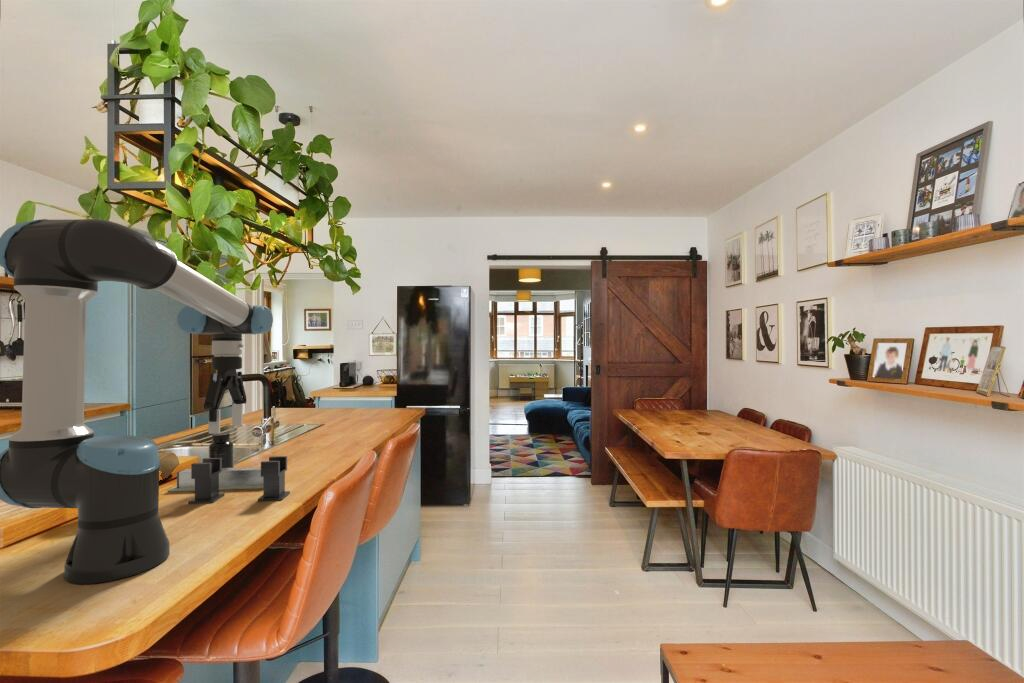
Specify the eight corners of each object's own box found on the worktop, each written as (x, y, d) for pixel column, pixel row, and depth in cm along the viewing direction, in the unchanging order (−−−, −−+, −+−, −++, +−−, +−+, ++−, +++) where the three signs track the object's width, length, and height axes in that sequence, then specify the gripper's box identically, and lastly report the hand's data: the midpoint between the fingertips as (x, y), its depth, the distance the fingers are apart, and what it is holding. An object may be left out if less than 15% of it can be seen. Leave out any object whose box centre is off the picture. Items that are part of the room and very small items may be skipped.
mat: (272, 488, 137) (272, 486, 137) (167, 491, 134) (167, 490, 134) (282, 481, 144) (282, 479, 144) (182, 484, 141) (182, 482, 141)
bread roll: (185, 471, 155) (185, 447, 155) (168, 484, 141) (168, 457, 141) (150, 474, 152) (150, 449, 152) (129, 487, 138) (129, 459, 138)
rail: (270, 485, 138) (270, 469, 138) (176, 488, 135) (176, 472, 135) (274, 481, 142) (274, 466, 142) (183, 484, 139) (183, 469, 139)
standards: (281, 500, 126) (281, 461, 126) (188, 503, 123) (188, 464, 123) (290, 493, 132) (290, 456, 132) (201, 496, 130) (201, 458, 130)
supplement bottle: (212, 469, 158) (212, 432, 158) (235, 467, 160) (235, 431, 160) (205, 474, 151) (205, 436, 151) (230, 472, 153) (230, 435, 153)
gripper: (219, 356, 127) (218, 436, 126) (258, 355, 152) (258, 422, 151) (189, 356, 126) (188, 437, 126) (233, 355, 151) (233, 423, 150)
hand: (226, 429), depth 138 cm, fingers open, 13 cm apart
